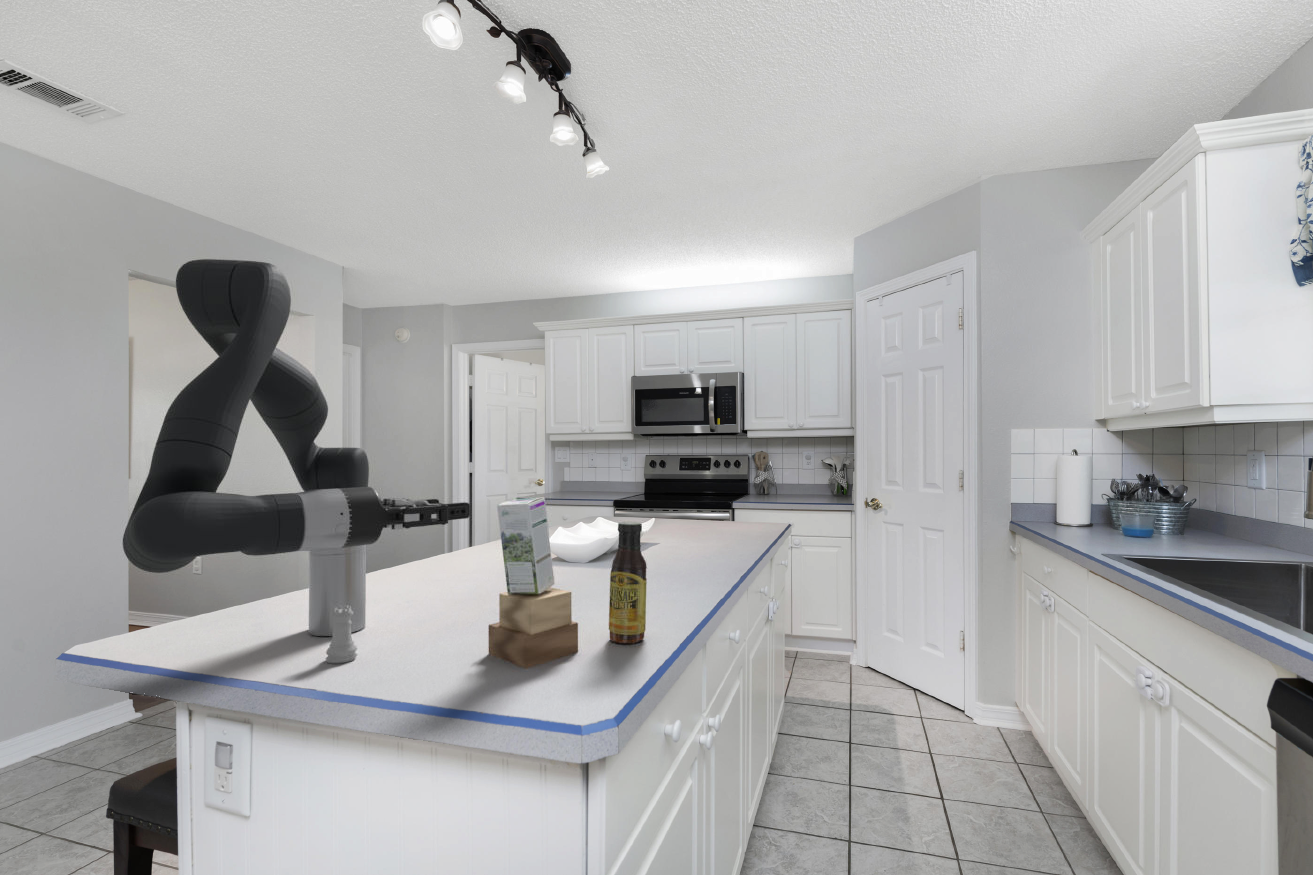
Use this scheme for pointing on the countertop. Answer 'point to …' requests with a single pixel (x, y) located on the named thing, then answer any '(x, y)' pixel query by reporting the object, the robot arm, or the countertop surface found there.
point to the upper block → (535, 610)
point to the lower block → (532, 644)
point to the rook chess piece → (341, 637)
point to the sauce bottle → (628, 587)
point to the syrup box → (526, 545)
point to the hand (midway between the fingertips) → (452, 507)
